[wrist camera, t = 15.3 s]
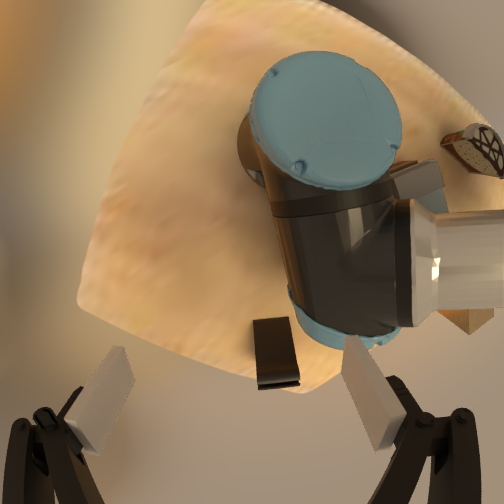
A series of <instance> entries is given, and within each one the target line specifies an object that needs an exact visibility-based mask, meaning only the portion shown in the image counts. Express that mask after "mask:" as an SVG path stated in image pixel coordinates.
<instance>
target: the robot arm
mask: <svg viewBox="0 0 504 504" xmlns="http://www.w3.org/2000/svg"><path fill="white" fill-rule="evenodd" d="M401 139H402V122H401V117H400V113H399V109H398V107H397V104H396V102H395V100H394V98H393V96H392V94H391V93H390V91H389V89H388V88H387V87H386V85H385V84H384V83H383V82H382V80H381V79H380V78H379V77H378V76H377V75H376V74H374V73H373V72H372V71H371V70H370V69H368V68H365V67H363V66H361V65H359V64H358V63H356V62H355V61H354V60H353V59H351V58H349V57H347V56H344V55H341V54H337V53H333V52H327V51H307V52H301V53H297V54H293V55H291V56H288V57H286V58H284V59H282V60H280V61H279V62H277V63H276V64H275V65H273V66H272V67H271V68H270V69H269V70H268V71H267V72H266V73H265V75H264V76H263V77H262V79H261V81H260V82H259V84H258V86H257V87H256V89H255V91H254V93H253V97H252V99H251V105H250V107H249V112H248V113H247V115H246V116H245V118H244V119H243V121H242V123H241V126H240V129H239V133H238V140H237V146H238V153H239V157H240V160H241V163H242V165H243V167H244V169H245V171H246V172H247V173H248V175H249V176H250V177H251V178H252V179H253V180H254V181H255V182H256V183H257V184H258V185H260V186H261V187H263V188H265V189H267V193H268V197H269V200H270V205H271V209H272V213H273V219H274V223H275V227H276V232H277V236H278V240H279V244H280V249H281V253H282V257H283V262H284V266H285V271H286V275H287V279H288V285H287V288H288V294H289V298H290V300H291V302H292V304H293V306H294V309H295V313H296V317H297V320H298V322H299V324H300V326H301V327H302V329H303V330H304V332H305V333H306V334H307V335H308V336H310V337H311V338H312V339H314V340H315V341H317V342H319V343H321V344H323V345H325V346H328V347H331V348H334V349H338V350H344V353H343V361H342V369H341V374H342V376H343V379H344V381H345V383H346V385H347V388H348V390H349V392H350V394H351V396H352V399H353V401H354V404H355V406H356V408H357V411H358V413H359V415H360V417H361V420H362V422H363V425H364V427H365V429H366V432H367V434H368V436H369V439H370V441H371V443H372V446H373V448H374V451H375V453H379V452H382V451H386V450H389V449H390V448H391V446H392V444H393V442H394V444H395V447H396V450H395V452H394V454H393V456H392V457H391V461H390V463H389V465H388V467H387V469H386V471H385V473H384V475H383V477H382V479H381V481H380V482H379V485H378V486H377V488H376V490H375V492H374V494H373V495H372V497H371V499H370V500H369V502H368V504H408V503H409V501H410V498H411V496H412V494H413V492H414V489H415V487H416V485H417V482H418V480H419V477H420V474H421V472H422V469H423V466H424V463H425V461H426V458H427V456H431V474H430V486H429V496H428V504H481V468H480V454H479V445H478V437H477V430H476V423H475V417H474V414H473V413H472V412H471V411H470V410H469V409H467V408H458V409H456V410H454V411H453V413H452V414H451V416H448V417H440V418H435V417H434V416H433V415H432V414H430V413H428V412H423V411H422V410H421V408H420V407H419V405H418V404H417V402H416V401H415V399H414V398H413V396H412V395H411V393H410V392H409V390H408V389H407V388H406V386H405V384H404V383H403V381H402V380H401V379H399V378H398V377H396V376H395V375H393V376H390V377H384V375H383V373H382V372H381V370H380V369H379V367H378V366H377V364H376V363H375V361H374V359H373V358H372V356H371V355H370V353H369V352H368V350H369V349H372V348H373V347H374V344H378V345H380V346H382V345H384V344H386V343H388V342H390V341H391V340H392V339H394V338H395V337H396V335H397V334H398V333H399V331H400V329H401V328H402V327H418V326H419V325H420V324H421V323H422V322H423V321H424V320H425V319H426V318H427V317H428V316H429V315H430V314H431V313H432V312H434V311H436V310H465V309H489V308H504V209H503V210H484V211H467V212H452V213H437V214H434V213H432V212H430V211H429V210H427V209H426V208H425V207H424V206H423V205H422V204H421V203H420V202H418V201H417V200H416V199H400V200H397V199H394V194H393V188H392V182H391V176H390V171H389V167H390V166H391V165H392V163H393V162H394V160H395V155H396V151H397V150H398V149H399V148H400V145H401ZM134 383H135V378H134V375H133V373H132V370H131V367H130V364H129V361H128V358H127V355H126V352H125V350H124V347H121V346H113V347H112V348H111V350H110V351H109V353H108V354H107V355H106V357H105V358H104V360H103V361H102V363H101V364H100V365H99V367H98V368H97V370H96V371H95V372H94V374H93V375H92V377H91V378H90V380H89V381H88V383H87V384H86V385H85V387H81V386H80V387H79V388H78V389H76V390H75V391H74V392H73V394H72V395H71V397H70V398H69V399H68V401H67V403H66V404H65V405H64V407H63V408H62V410H61V411H60V412H59V414H58V415H57V416H56V415H55V413H54V412H53V410H52V409H51V408H48V407H42V408H40V409H38V410H37V411H35V413H34V414H33V420H34V421H35V423H36V424H37V425H31V423H30V422H29V420H28V419H26V418H20V419H17V420H16V421H15V422H14V423H13V425H12V428H11V433H10V438H9V443H8V449H7V456H6V463H5V471H4V481H3V498H2V504H55V496H54V490H55V493H56V496H57V499H58V502H59V504H105V503H104V501H103V499H102V497H101V495H100V493H99V491H98V489H97V487H96V485H95V482H94V480H93V478H92V475H91V473H90V471H89V468H88V466H87V463H86V461H85V458H84V455H83V454H82V452H81V450H82V448H83V447H84V448H85V450H86V451H87V452H88V453H90V454H93V455H97V456H100V455H101V453H102V451H103V448H104V446H105V444H106V442H107V439H108V437H109V435H110V433H111V431H112V429H113V426H114V424H115V422H116V420H117V418H118V416H119V414H120V412H121V410H122V407H123V405H124V403H125V401H126V399H127V397H128V395H129V393H130V391H131V389H132V387H133V385H134Z"/></svg>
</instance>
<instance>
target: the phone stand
mask: <svg viewBox="0 0 504 504" xmlns="http://www.w3.org/2000/svg"><path fill="white" fill-rule="evenodd" d="M253 326H254V341H255V355H256V372H257V384H258V390H268V389H278V388H287V387H295V386H300V383H299V381H298V380H300V373H299V368H298V364H297V360H296V354H295V348H294V343H293V338H292V332H291V327H290V322H289V317H285V318H275V319H266V320H255V321H253Z"/></svg>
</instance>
